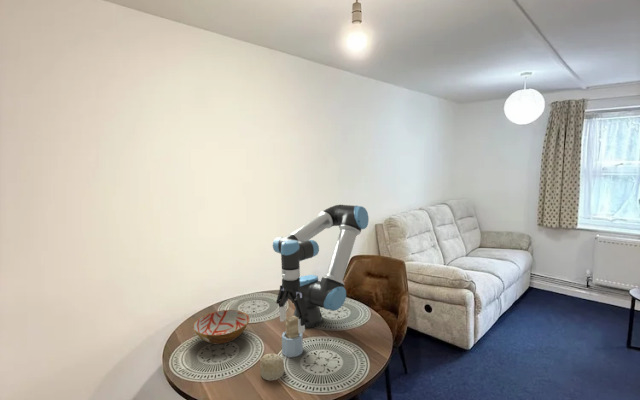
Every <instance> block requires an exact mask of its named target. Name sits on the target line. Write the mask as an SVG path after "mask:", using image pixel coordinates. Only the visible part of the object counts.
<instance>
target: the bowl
mask: <svg viewBox="0 0 640 400" xmlns="http://www.w3.org/2000/svg"><path fill="white" fill-rule="evenodd" d="M249 322H250V316H249V315H248V314H247V313H246V312H244V311H241V310H238V309H237V310H236V309H226V310H217V311H213V312H210V313H207V314H205V315H202V316H201V317H199V318H197V319H196V320H195V321H194V323H192V329H193V331H194V333H195V334H196V335H197V336H198V338H200V340H203V341H205V343H209V344H213V345H224V343H225V344H228V343H230V342H232V341H234V340H235V339H237V338H238V337H240V336H241V335H242V333H243V332H244V331H245V330H246V328H247V326H248V324H249Z"/></svg>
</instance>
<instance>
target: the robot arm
mask: <svg viewBox="0 0 640 400" xmlns="http://www.w3.org/2000/svg"><path fill="white" fill-rule="evenodd" d="M369 218H370V217H369V214H368V210H367V209H366V208H365V207H364V206H361V205H350V204H336V205H333V206H330V207H328V208H326V209H323V210H322V211H320V213H319V214H318V215H317V216H316V217H315V218H313V219H312V220H310V221H309V222H306V223H305V224H304V225H302V226H300V227H299V228H297V229H295V230H294V231H292V232H291V233H289V234H288V235H286V236H284V237H283V236H278V237H276V238H275V239H274V240H273V242H272V249H273V251H274V252H276V253H277V254H280V258H281V285H279V291H278V294H277V298H276V302H275V303H276V304H277V305H278V307H279V322H281V323H282V322H285V319H286V318H287V305H286V304H287V302H288V300H290V301H291V302H292V304H294V307H295V309H294V313H293V315H292V316H296V317H298V333H299V334H300V333H305V331H306V328H313V327H317V326H319V325H320V324H322V322H323V314H322V311H321V309H320V308H323V309H325V310H330V311H334V312H335V311H338V310H339V309H341V308H342V307H343V305H344V303H345V302H346V299H347V290H346V288H345V285H346V284H345V283H344V277H345V275H346V274H345V273H346V271H347V267H348V265H349V260H350V257H351V254H352V251H353V248H354V245H355V241H356V238H357V236H358V235H360V234H361V232H362V230H366V229H367V227H368V225H369ZM332 227H338V228H339V230H340V232H339V234H338V237H337V241H336V244H335V247H334V249H333V252H332V255H331V258H330V261H329V264H328V268H327V271H326V273H325V275H323V276H322V277H321V279H320V280H319V277H318V275H315V274H306V275H303V276H301V272H300V271H301V269H300V266H301V265H300V262H302V261H306V260H308V259H312V258H313V257H316V256H318V254H319V251H320V248H319V247H320V246H319V244H318V242H317V241H316V240H314V239H312V238H314V237H315V236H317V235H318V234H319V233H321V232H323V231H325V230H326V229H331V228H332Z"/></svg>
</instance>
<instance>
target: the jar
mask: <svg viewBox="0 0 640 400" xmlns="http://www.w3.org/2000/svg"><path fill="white" fill-rule="evenodd" d="M303 333H304V332H302V333H300V334H299V333H298V335H299V337H297V338H294V339H291V338H286V330H285V331H283V332H282V335H281V352H282V355H283V356H284V357H287V358H297V357H299V356H301V355H302V354H303V352H304V344H303V343H304V339H303V338H304V337H303Z"/></svg>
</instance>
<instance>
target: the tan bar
mask: <svg viewBox="0 0 640 400" xmlns="http://www.w3.org/2000/svg"><path fill="white" fill-rule="evenodd" d="M284 322H285V331H286V338H291V339H294V338H297V337H299V335H298V317H296V316H293V315H292V316H288V317H286V319H285V321H284Z"/></svg>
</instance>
